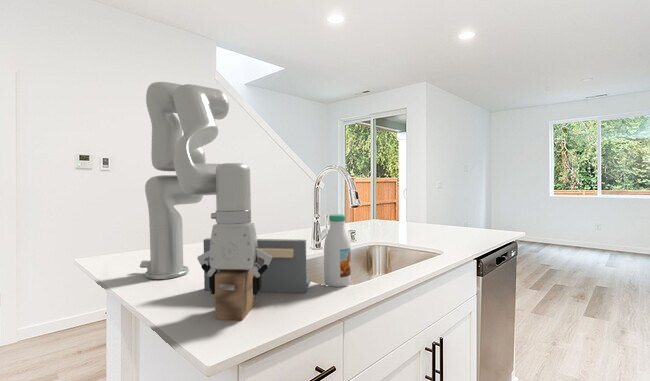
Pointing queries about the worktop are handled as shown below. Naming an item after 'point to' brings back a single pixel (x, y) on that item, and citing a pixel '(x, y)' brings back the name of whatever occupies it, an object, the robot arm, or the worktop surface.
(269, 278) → the wall board
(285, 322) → the worktop surface
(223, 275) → the cabinet
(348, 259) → the milk bottle
